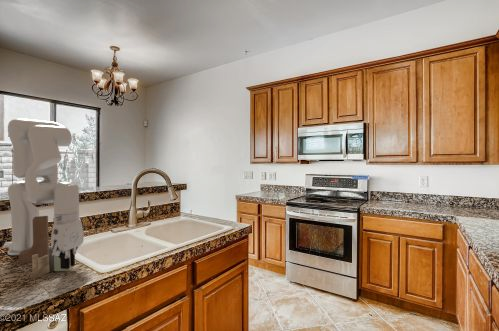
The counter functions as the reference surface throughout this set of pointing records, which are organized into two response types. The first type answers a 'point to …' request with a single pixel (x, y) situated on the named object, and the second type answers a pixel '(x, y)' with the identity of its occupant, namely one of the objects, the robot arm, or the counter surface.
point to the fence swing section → (58, 264)
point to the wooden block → (37, 240)
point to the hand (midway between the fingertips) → (67, 266)
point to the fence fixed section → (42, 264)
